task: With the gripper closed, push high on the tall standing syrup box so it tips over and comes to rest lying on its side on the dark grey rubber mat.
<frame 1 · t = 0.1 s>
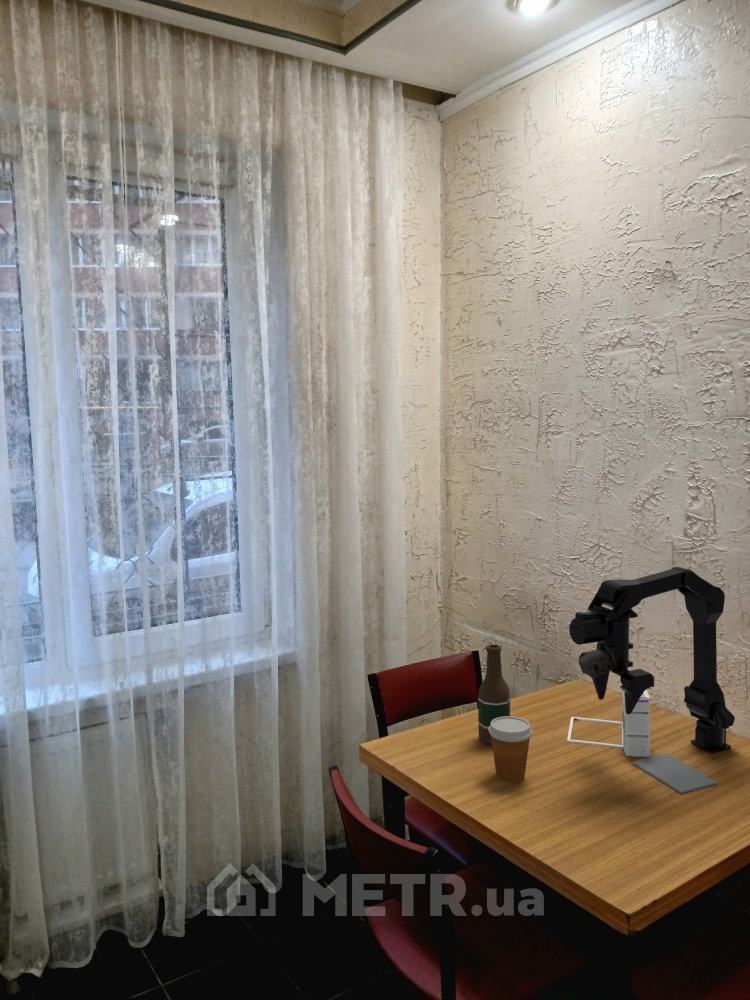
hand: (614, 706, 167), 15 cm above the table, fingers open, 9 cm apart
disposable coffee cup: (510, 776, 167), on the table
syrup box: (635, 752, 177), on the table
beer bottle: (494, 741, 185), on the table
photo frame: (606, 736, 187), on the table
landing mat: (673, 773, 166), on the table
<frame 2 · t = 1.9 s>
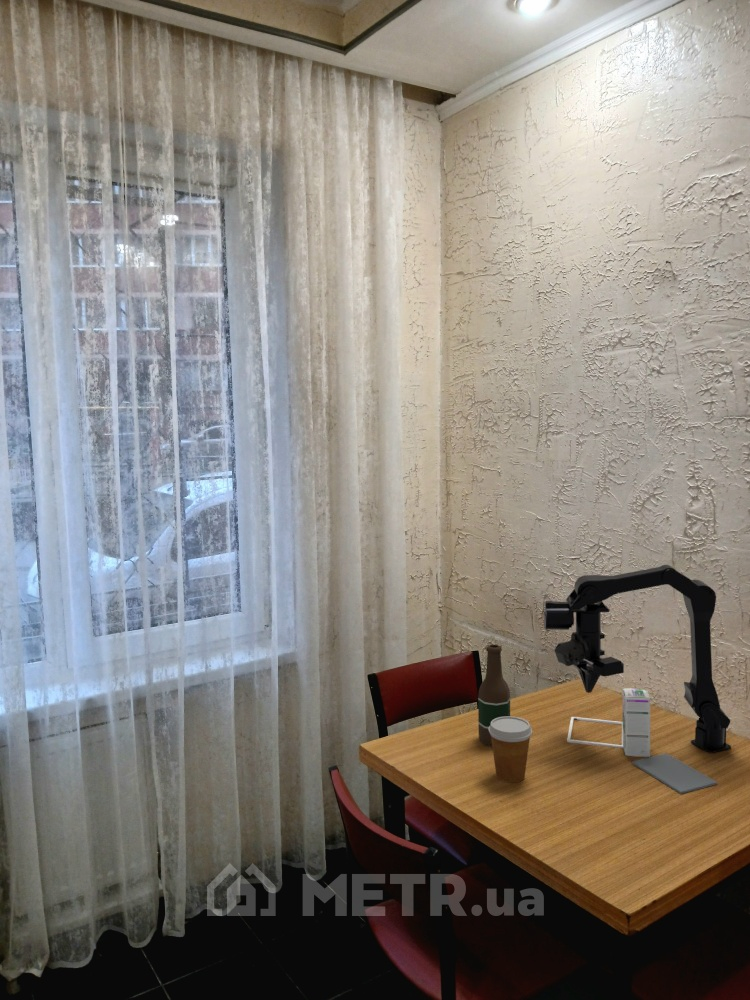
hand: (588, 692, 181), 13 cm above the table, fingers closed
nothing on the table moved.
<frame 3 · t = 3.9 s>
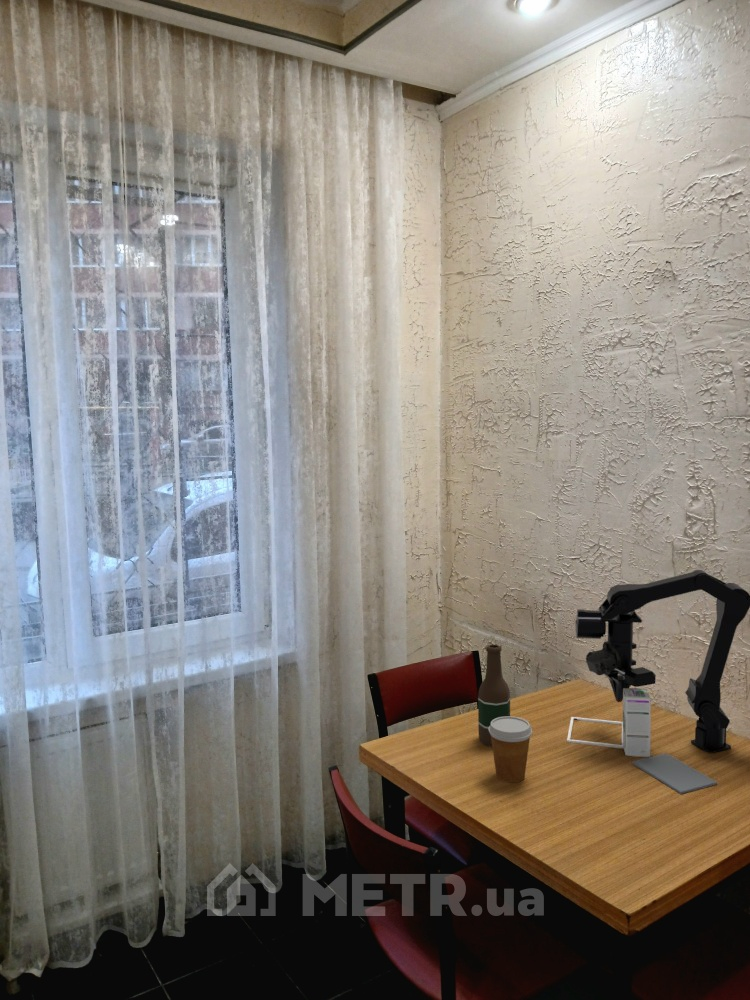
hand: (618, 701, 182), 10 cm above the table, fingers closed
syrup box: (635, 752, 177), on the table, touching gripper
everything else where it was.
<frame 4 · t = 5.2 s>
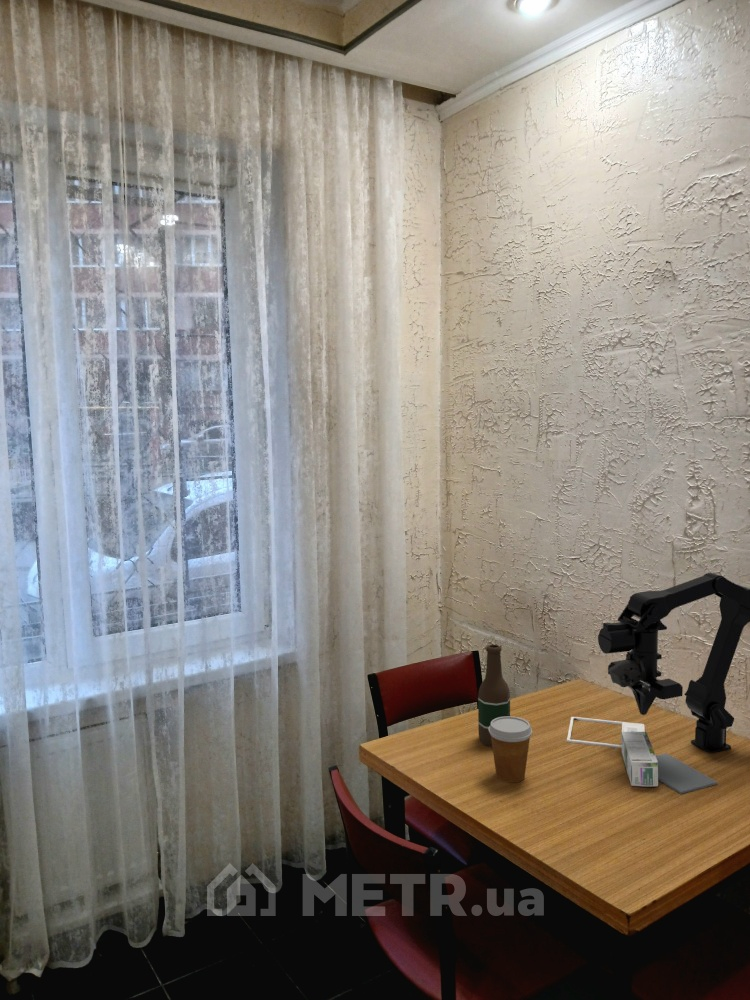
hand: (643, 714, 174), 10 cm above the table, fingers closed
syrup box: (633, 742, 174), point 4 cm above the table, touching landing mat
everything else where it was.
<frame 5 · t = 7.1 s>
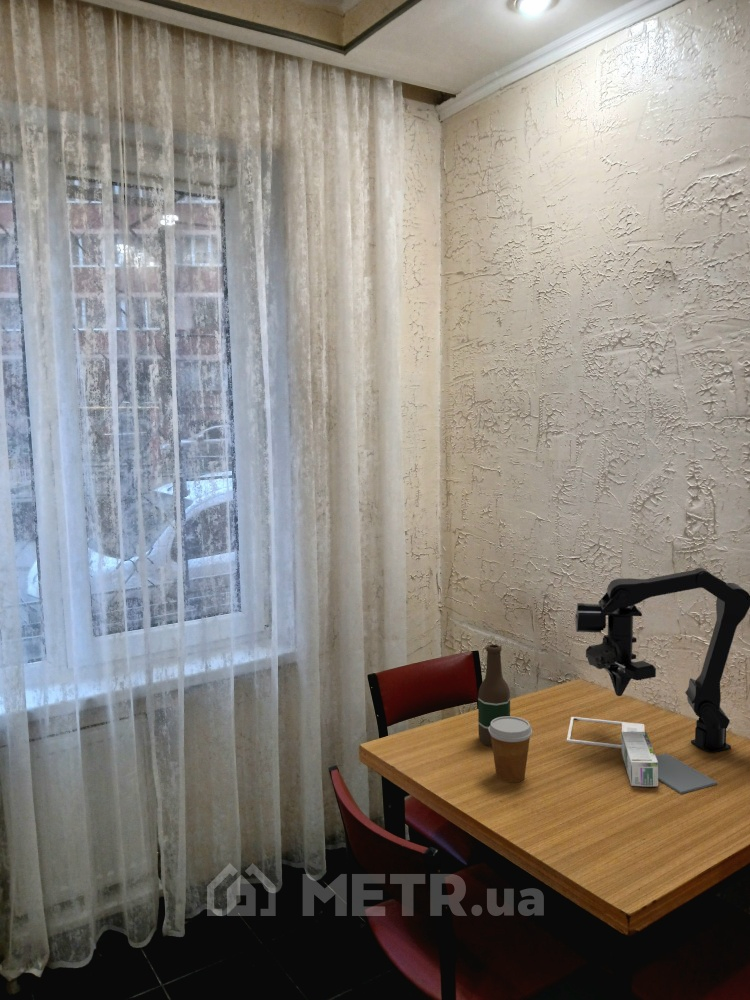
hand: (618, 695, 182), 12 cm above the table, fingers closed
nothing on the table moved.
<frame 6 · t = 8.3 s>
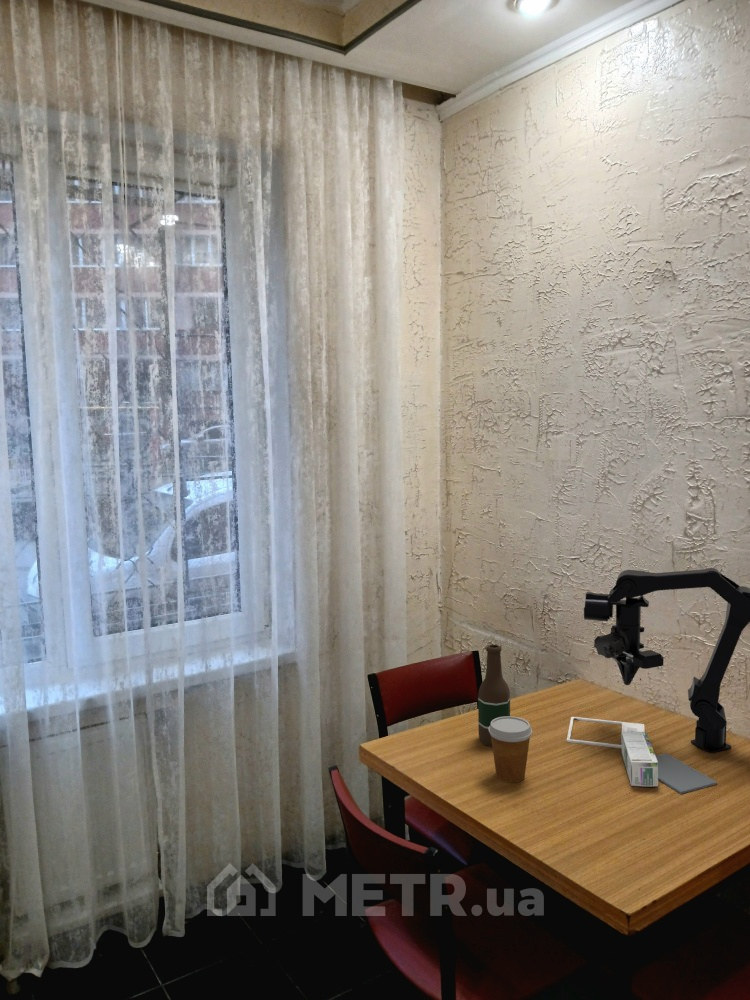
hand: (627, 684, 185), 13 cm above the table, fingers closed
nothing on the table moved.
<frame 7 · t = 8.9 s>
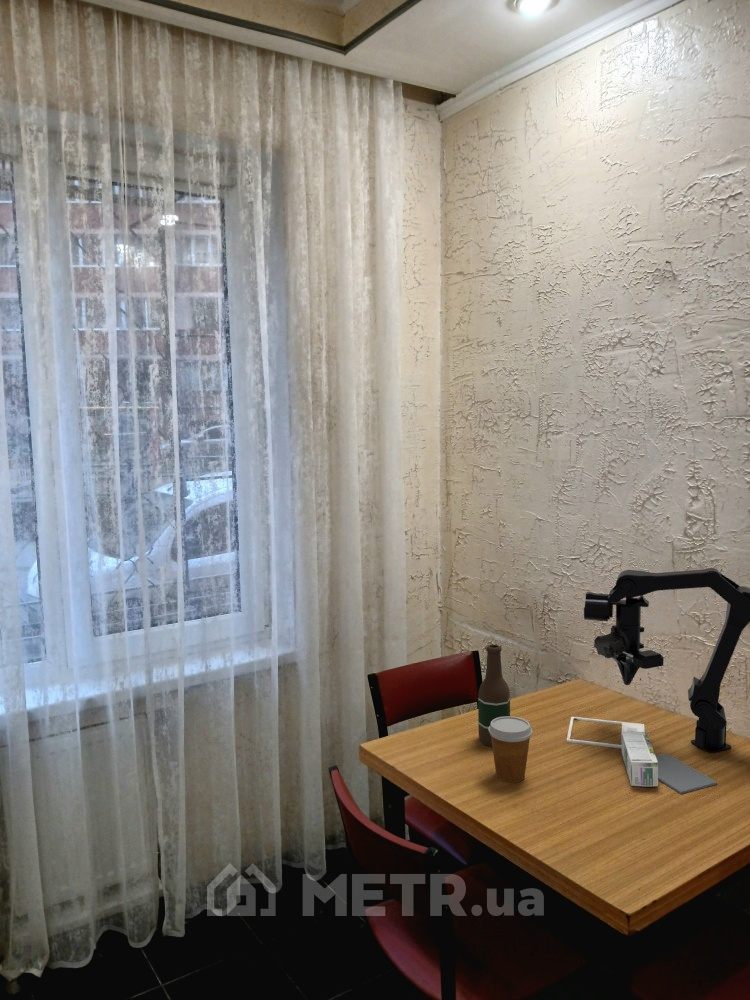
hand: (627, 684, 185), 13 cm above the table, fingers closed
nothing on the table moved.
at the end: syrup box tilted 92°; syrup box inside the target area (3.4 cm from its centre), point 3.5 cm above the table; syrup box touching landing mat, table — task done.
